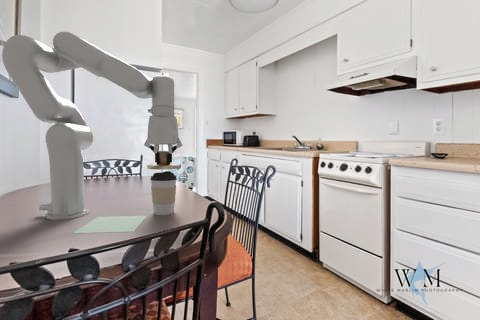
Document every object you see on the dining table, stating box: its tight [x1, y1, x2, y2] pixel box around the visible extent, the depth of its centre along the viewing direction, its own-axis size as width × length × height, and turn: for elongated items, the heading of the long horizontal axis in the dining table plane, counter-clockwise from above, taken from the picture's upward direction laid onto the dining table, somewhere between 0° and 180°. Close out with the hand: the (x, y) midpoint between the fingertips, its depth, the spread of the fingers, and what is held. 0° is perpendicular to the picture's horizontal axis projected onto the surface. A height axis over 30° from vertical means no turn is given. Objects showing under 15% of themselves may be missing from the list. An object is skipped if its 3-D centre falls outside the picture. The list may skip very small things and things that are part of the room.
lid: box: [146, 150, 180, 171], centre depth 92 cm, size 11×11×6 cm
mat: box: [73, 215, 148, 234], centre depth 80 cm, size 16×16×1 cm
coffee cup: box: [150, 170, 178, 216], centre depth 93 cm, size 9×9×15 cm
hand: (163, 164), depth 92 cm, fingers closed on lid, 3 cm apart
